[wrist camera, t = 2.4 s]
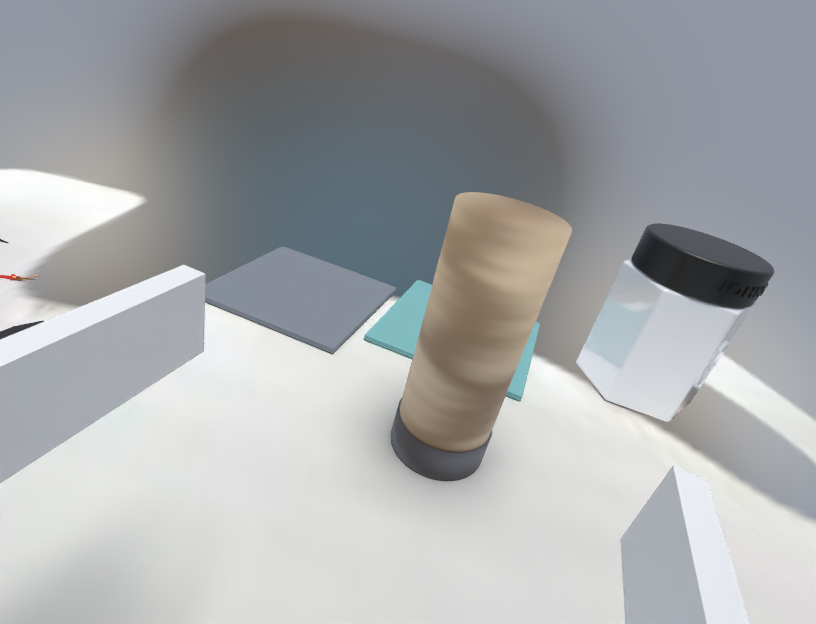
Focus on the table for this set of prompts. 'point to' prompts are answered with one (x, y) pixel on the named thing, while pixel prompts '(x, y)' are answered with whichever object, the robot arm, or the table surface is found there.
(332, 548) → the table surface
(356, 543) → the table surface
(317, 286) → the slate seat
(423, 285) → the teal seat
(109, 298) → the robot arm
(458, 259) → the banded sleeve
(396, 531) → the table surface
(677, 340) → the jar
